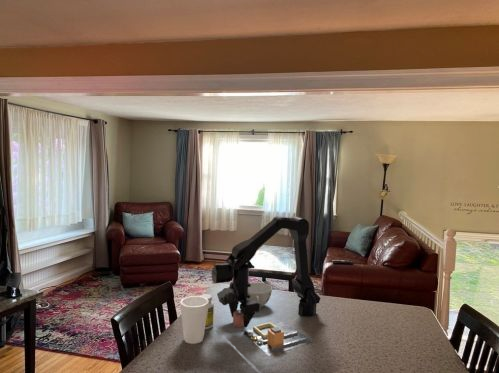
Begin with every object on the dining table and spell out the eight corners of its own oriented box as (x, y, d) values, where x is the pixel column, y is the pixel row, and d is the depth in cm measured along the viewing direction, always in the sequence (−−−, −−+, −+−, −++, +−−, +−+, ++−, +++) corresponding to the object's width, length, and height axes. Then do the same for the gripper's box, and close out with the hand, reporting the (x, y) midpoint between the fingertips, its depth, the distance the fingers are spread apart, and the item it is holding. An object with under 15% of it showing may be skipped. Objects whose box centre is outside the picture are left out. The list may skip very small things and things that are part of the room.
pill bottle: (210, 330, 124) (210, 300, 123) (193, 328, 125) (194, 298, 125) (215, 323, 130) (216, 294, 130) (199, 321, 132) (200, 292, 131)
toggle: (277, 340, 117) (277, 325, 117) (283, 345, 114) (284, 330, 114) (267, 343, 115) (267, 328, 115) (273, 348, 112) (273, 332, 112)
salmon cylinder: (241, 322, 131) (241, 308, 131) (247, 327, 128) (247, 312, 127) (230, 325, 129) (231, 310, 129) (236, 330, 125) (237, 315, 125)
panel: (283, 323, 132) (283, 319, 132) (313, 344, 117) (313, 339, 117) (241, 334, 123) (241, 329, 123) (268, 358, 108) (268, 353, 108)
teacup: (241, 299, 154) (242, 281, 153) (270, 300, 154) (271, 282, 153) (241, 314, 139) (241, 294, 138) (272, 315, 139) (273, 295, 138)
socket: (269, 325, 128) (269, 322, 128) (281, 333, 122) (281, 330, 122) (253, 329, 124) (253, 326, 124) (264, 338, 118) (264, 335, 118)
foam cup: (212, 335, 121) (213, 298, 120) (200, 348, 112) (201, 309, 112) (188, 330, 124) (188, 294, 123) (174, 342, 116) (174, 304, 115)
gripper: (209, 275, 131) (208, 316, 132) (232, 292, 115) (231, 338, 116) (235, 271, 137) (234, 310, 138) (261, 287, 121) (260, 331, 122)
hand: (239, 322), depth 128 cm, fingers open, 9 cm apart
